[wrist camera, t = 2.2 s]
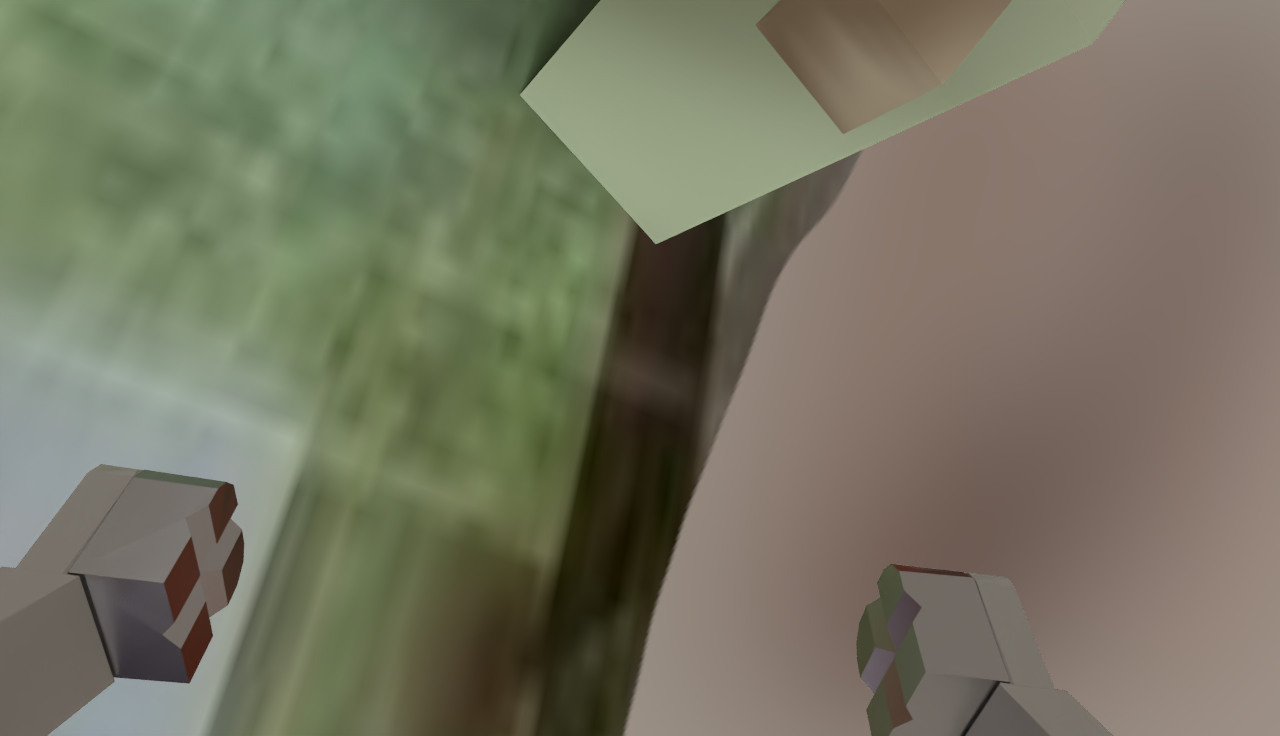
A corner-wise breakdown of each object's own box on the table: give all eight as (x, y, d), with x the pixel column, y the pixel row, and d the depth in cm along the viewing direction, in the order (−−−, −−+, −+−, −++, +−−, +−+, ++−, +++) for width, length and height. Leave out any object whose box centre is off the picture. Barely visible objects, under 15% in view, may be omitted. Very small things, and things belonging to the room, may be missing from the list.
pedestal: (519, 95, 44) (856, -300, 21) (644, -21, 48) (1054, -473, 24) (656, 244, 47) (1093, 43, 23) (764, 124, 50) (1242, -157, 27)
